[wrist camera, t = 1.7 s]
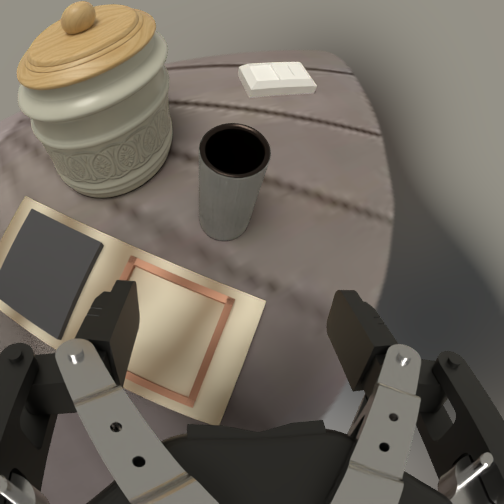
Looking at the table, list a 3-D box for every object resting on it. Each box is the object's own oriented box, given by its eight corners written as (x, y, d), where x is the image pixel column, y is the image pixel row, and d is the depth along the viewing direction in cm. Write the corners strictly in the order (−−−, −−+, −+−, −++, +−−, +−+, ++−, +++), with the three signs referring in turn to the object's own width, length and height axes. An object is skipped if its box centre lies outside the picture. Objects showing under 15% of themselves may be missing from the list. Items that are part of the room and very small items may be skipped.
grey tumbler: (226, 251, 27) (240, 191, 17) (188, 220, 28) (183, 149, 18) (258, 216, 29) (284, 148, 19) (221, 188, 29) (231, 112, 19)
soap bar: (313, 95, 36) (318, 81, 34) (248, 100, 34) (252, 84, 32) (298, 73, 38) (303, 59, 35) (237, 77, 36) (239, 61, 33)
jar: (167, 98, 32) (163, -36, 16) (181, 186, 29) (173, 19, 12) (65, 121, 29) (22, 2, 13) (57, 214, 26) (-34, 86, 9)
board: (-16, 294, 22) (-26, 290, 20) (30, 201, 26) (22, 193, 24) (217, 424, 22) (218, 429, 20) (263, 303, 26) (267, 299, 24)
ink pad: (-5, 293, 21) (-10, 291, 20) (35, 211, 24) (31, 208, 23) (61, 340, 21) (57, 339, 20) (104, 245, 24) (101, 242, 24)
